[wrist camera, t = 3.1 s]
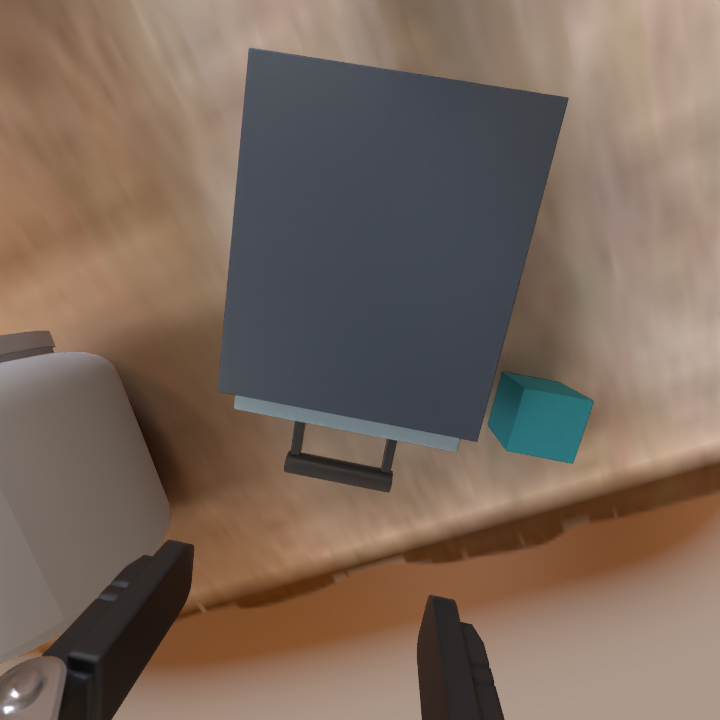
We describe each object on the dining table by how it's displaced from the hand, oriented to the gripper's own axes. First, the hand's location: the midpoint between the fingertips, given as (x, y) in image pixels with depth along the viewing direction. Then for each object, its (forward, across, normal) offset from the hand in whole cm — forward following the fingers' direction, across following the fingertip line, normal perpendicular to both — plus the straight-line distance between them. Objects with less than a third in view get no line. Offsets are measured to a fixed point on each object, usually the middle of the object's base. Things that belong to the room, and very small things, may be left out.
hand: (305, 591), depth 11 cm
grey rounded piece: (+18, +24, +4) cm, 31 cm away
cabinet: (+18, 0, -10) cm, 21 cm away
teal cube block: (+18, -13, -2) cm, 22 cm away
